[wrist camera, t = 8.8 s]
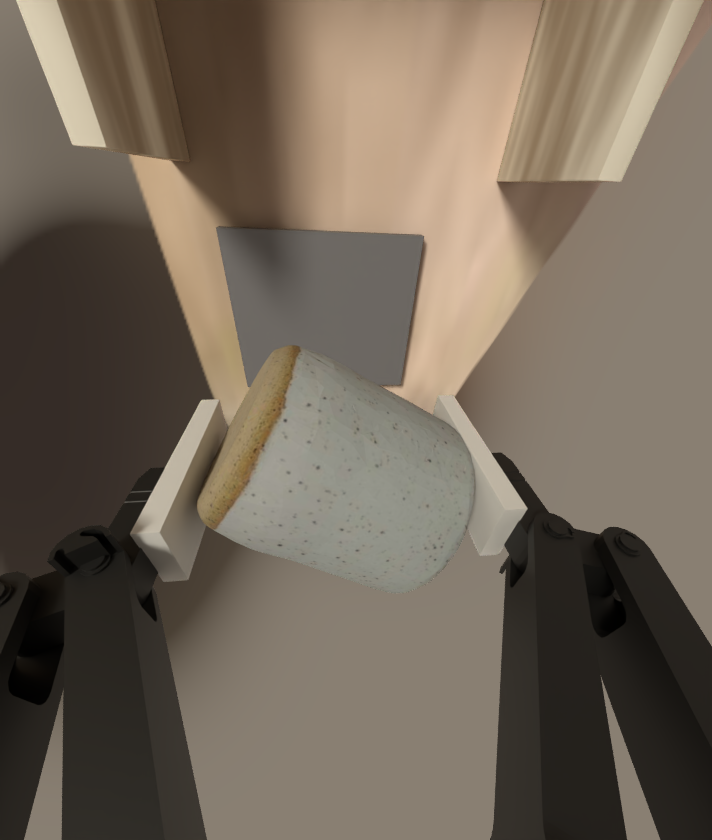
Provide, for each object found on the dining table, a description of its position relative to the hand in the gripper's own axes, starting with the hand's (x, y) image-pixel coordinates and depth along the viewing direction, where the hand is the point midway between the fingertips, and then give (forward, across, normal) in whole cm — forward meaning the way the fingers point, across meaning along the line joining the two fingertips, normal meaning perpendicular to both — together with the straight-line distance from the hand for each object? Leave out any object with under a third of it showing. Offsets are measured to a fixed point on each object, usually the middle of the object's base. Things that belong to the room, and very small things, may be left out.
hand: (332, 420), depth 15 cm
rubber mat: (+15, 0, 0) cm, 15 cm away
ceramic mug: (+1, -1, -1) cm, 2 cm away
